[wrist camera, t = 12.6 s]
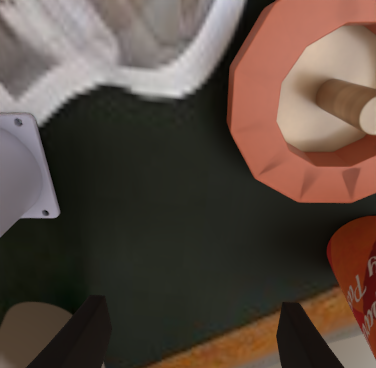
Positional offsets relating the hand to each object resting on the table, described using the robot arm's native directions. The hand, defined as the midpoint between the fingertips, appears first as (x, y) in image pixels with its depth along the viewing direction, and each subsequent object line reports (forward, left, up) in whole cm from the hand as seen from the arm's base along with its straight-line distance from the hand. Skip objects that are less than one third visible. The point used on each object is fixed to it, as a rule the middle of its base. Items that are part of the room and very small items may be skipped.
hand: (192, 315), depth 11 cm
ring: (+8, +7, -9) cm, 14 cm away
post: (+8, +7, -10) cm, 15 cm away
